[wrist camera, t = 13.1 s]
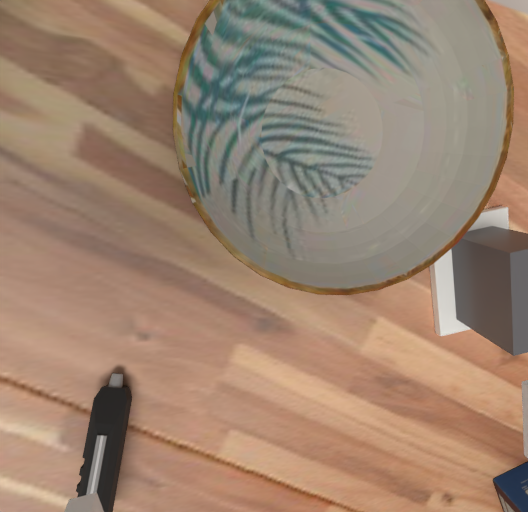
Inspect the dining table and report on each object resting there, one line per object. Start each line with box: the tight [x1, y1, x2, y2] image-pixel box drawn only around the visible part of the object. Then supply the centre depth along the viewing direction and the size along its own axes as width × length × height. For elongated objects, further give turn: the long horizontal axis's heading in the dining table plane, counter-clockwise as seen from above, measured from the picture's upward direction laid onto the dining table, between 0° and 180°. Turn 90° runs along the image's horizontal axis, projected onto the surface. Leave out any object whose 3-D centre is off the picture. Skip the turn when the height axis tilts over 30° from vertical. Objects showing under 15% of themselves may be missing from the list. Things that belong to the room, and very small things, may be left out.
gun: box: [76, 373, 132, 512], centre depth 38 cm, size 3×16×10 cm, turn 170°
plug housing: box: [451, 226, 528, 356], centre depth 36 cm, size 9×4×8 cm, turn 11°
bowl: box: [173, 0, 514, 295], centre depth 32 cm, size 25×25×8 cm
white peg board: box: [429, 206, 509, 336], centre depth 39 cm, size 12×8×5 cm, turn 11°
